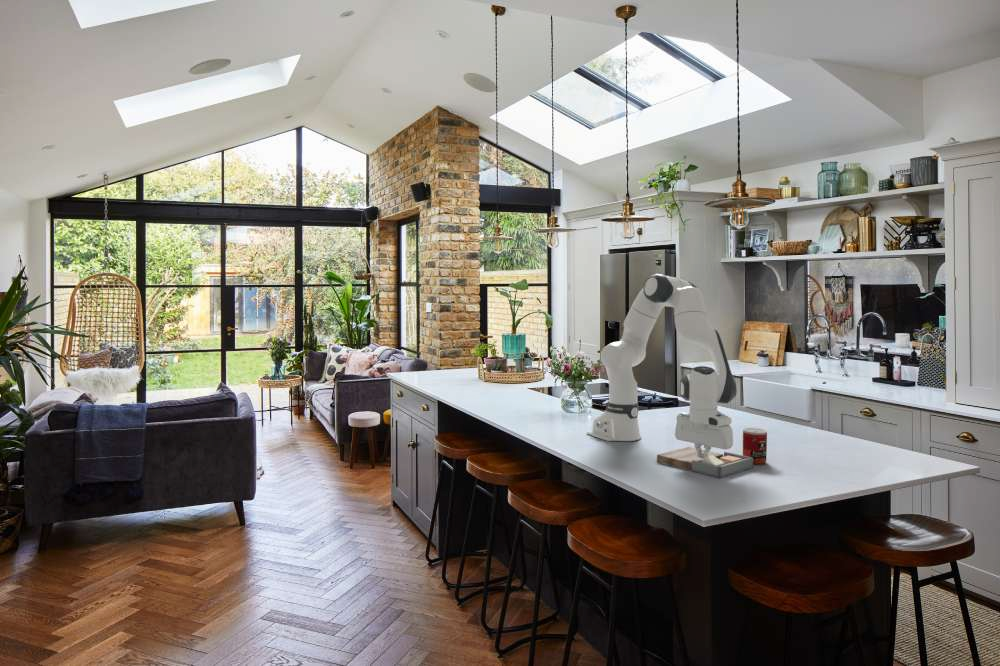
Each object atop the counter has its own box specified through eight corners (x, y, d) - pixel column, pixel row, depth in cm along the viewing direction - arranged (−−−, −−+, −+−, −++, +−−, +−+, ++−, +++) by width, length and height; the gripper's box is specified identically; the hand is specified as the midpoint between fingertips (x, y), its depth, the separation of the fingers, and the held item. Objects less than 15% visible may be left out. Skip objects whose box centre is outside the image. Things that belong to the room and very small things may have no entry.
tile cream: (700, 464, 215) (703, 457, 214) (709, 461, 218) (712, 455, 217) (713, 472, 212) (715, 465, 211) (722, 469, 215) (724, 462, 214)
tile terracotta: (719, 465, 220) (719, 457, 220) (728, 462, 223) (728, 455, 223) (732, 468, 216) (733, 460, 216) (741, 465, 219) (741, 458, 219)
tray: (691, 471, 215) (691, 460, 215) (725, 461, 227) (725, 451, 226) (719, 478, 207) (719, 467, 207) (752, 467, 219) (753, 457, 218)
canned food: (752, 465, 221) (752, 433, 221) (737, 459, 229) (738, 428, 228) (771, 464, 223) (772, 432, 223) (756, 458, 231) (757, 427, 230)
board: (656, 461, 227) (657, 454, 226) (688, 453, 238) (688, 446, 238) (691, 470, 216) (691, 463, 215) (722, 461, 227) (723, 454, 227)
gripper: (671, 412, 223) (670, 453, 223) (724, 422, 207) (724, 465, 207) (682, 410, 226) (682, 450, 227) (736, 419, 210) (735, 462, 211)
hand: (702, 457), depth 217 cm, fingers closed
